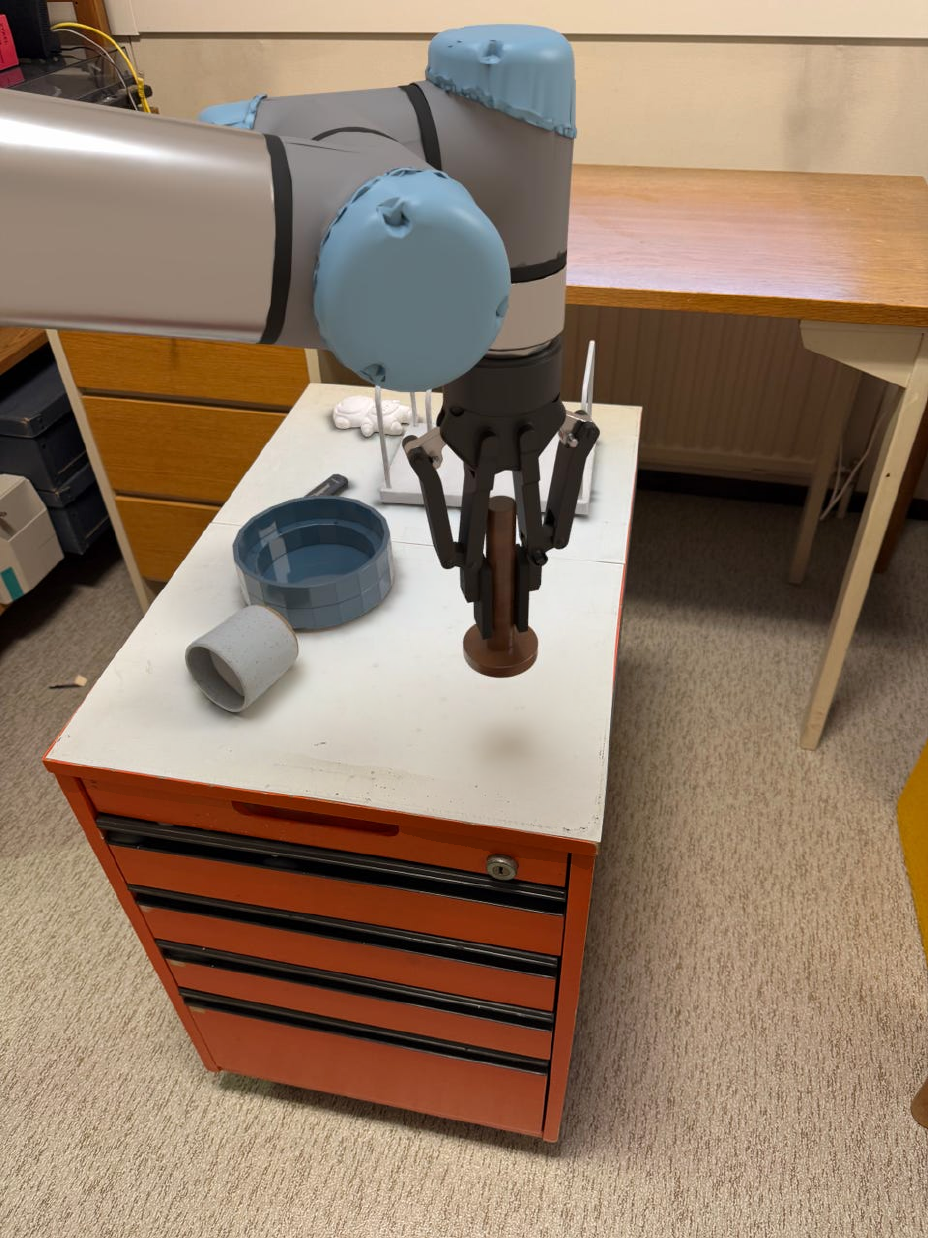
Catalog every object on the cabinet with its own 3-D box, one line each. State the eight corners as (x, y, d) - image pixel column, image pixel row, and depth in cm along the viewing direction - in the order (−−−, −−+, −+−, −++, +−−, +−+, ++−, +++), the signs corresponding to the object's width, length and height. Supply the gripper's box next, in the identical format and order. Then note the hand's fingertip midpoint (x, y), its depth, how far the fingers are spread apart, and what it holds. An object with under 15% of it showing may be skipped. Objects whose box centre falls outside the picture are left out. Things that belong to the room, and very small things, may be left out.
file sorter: (596, 443, 116) (604, 328, 106) (587, 518, 103) (596, 396, 93) (410, 433, 120) (401, 321, 109) (379, 504, 107) (366, 385, 97)
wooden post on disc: (473, 684, 68) (470, 534, 59) (455, 635, 72) (449, 487, 63) (547, 670, 69) (555, 520, 60) (525, 621, 74) (529, 475, 64)
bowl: (249, 646, 88) (237, 600, 84) (239, 553, 100) (228, 509, 96) (407, 616, 91) (402, 570, 87) (379, 529, 103) (374, 485, 99)
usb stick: (302, 524, 104) (300, 513, 103) (285, 518, 105) (283, 507, 104) (351, 486, 110) (350, 475, 109) (335, 480, 111) (333, 470, 110)
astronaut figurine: (388, 445, 117) (386, 424, 116) (320, 423, 123) (317, 403, 121) (427, 417, 123) (425, 397, 121) (360, 397, 128) (358, 378, 126)
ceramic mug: (310, 669, 85) (296, 608, 80) (254, 724, 80) (235, 662, 75) (229, 635, 90) (211, 576, 85) (170, 685, 85) (148, 625, 80)
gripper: (597, 295, 58) (576, 579, 73) (367, 324, 55) (395, 611, 70) (643, 341, 52) (610, 637, 67) (389, 375, 49) (415, 675, 65)
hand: (500, 623), depth 69 cm, fingers closed on wooden post on disc, 2 cm apart
